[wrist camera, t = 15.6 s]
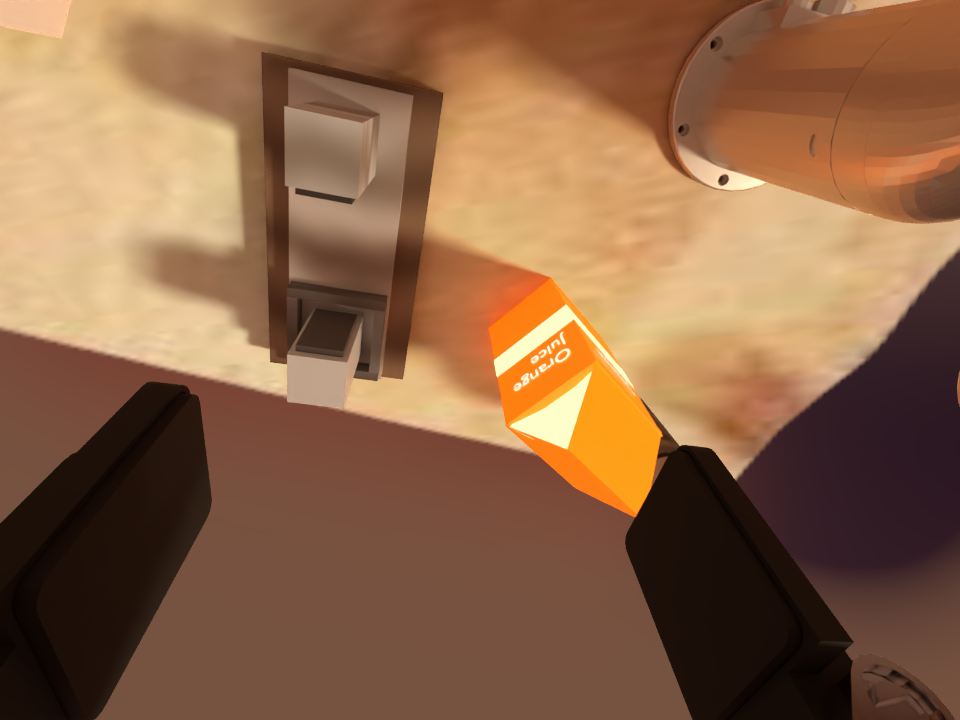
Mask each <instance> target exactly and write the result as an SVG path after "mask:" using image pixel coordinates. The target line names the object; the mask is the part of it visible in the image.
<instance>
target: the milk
mask: <svg viewBox="0 0 960 720" xmlns="http://www.w3.org/2000/svg"><path fill="white" fill-rule="evenodd" d="M71 1H72V0H0V26H1V27H6V28H11V29H16V30H22V31H27V32H32V33H37V34H42V35H47V36H52V37H57V38H62V35H63V31H64V28H65V24H66V20H67V16H68V13H69V9H70V5H71Z"/></svg>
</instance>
